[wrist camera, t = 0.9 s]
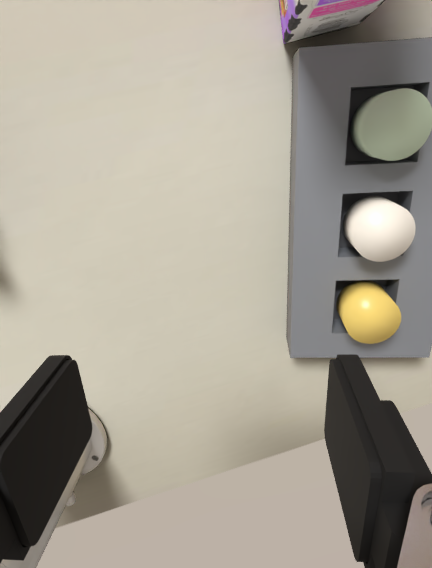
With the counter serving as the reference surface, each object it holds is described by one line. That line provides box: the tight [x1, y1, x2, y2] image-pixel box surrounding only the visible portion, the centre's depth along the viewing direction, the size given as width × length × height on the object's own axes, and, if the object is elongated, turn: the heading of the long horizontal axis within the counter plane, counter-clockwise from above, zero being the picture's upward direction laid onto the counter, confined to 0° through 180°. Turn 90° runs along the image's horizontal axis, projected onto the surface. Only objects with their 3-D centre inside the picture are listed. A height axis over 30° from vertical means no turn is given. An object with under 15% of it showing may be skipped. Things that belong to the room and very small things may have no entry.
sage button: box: [350, 88, 432, 161], centre depth 25 cm, size 4×4×3 cm
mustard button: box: [336, 280, 401, 344], centre depth 30 cm, size 4×4×3 cm
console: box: [286, 37, 432, 358], centre depth 30 cm, size 24×12×4 cm, turn 3°
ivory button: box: [343, 196, 416, 262], centre depth 27 cm, size 4×4×3 cm
